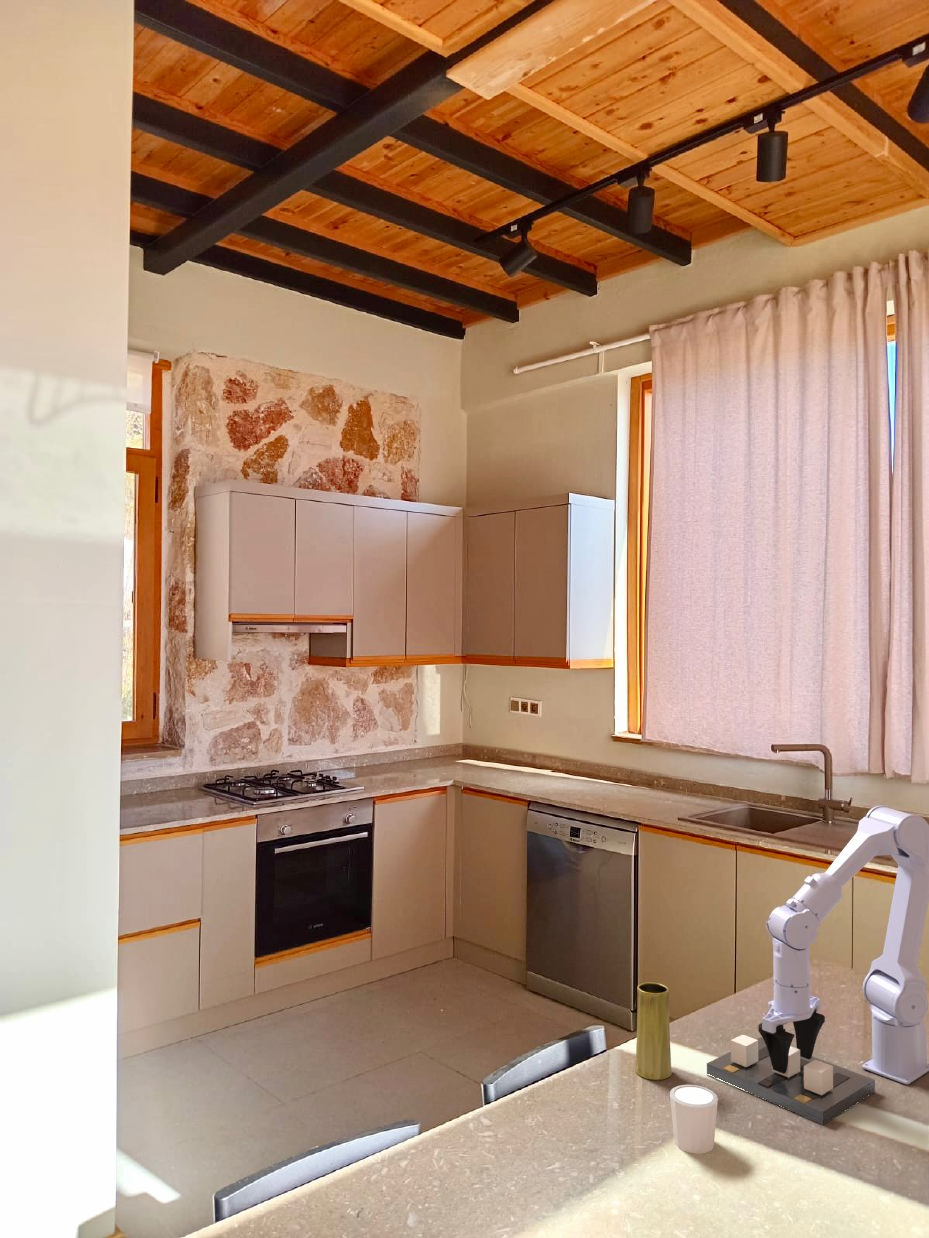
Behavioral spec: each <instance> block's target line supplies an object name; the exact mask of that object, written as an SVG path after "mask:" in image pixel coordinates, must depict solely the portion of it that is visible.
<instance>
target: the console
mask: <svg viewBox="0 0 929 1238" xmlns="http://www.w3.org/2000/svg"><path fill="white" fill-rule="evenodd" d="M755 1039H756V1040H758V1062H756V1063H754V1064H752V1065H750V1066H748V1067H744V1066H742V1065H739V1064H737V1063H734V1062H732V1061H731V1051H729V1052H728V1053H725V1054H723V1055H721V1056H719V1057H717V1058H715V1059H713V1060H710V1061H709V1062H706V1075H707V1074H710V1075H712V1076H714V1077H715V1078H719V1079H721V1080H723V1081H725V1082H728V1083H730V1084H732V1085H735V1086H737V1087H739V1088H742V1089H744V1090H745V1091H748V1092H750V1093H752V1094H754V1095H756V1096H759V1097H760V1098H759V1099H761V1098H764V1099H766V1100H767V1101H766V1102H768V1101H769V1102H768V1103H770V1102H772V1103H774V1104H773V1105H775V1104H777V1105H780V1106H782V1107H784V1108H785V1109H784V1108H783V1109H784V1110H786V1109H789V1110H790V1111H789V1110H788V1111H789V1112H791V1111H792V1113H793V1112H795V1113H794V1114H796V1113H797V1114H796V1115H798V1116H800V1115H802V1116H801V1117H803V1116H804V1117H803V1118H805V1119H807V1120H809V1121H812V1122H815V1123H816V1124H818V1125H821V1126H825V1124H827V1123H829V1122H830V1121H832V1120H834V1119H835V1118H837V1117H839V1115H841V1114H843V1113H845V1112H846V1111H848V1110H849V1109H851V1108H852V1107H854V1106H855V1104H856V1103H857V1102H859V1103H860V1102H862V1101H863V1100H864V1099H863V1098H865V1099H866V1097H867V1096H868V1095H870V1096H871V1095H872V1093H873V1092H874V1093H876V1079H874V1078H872V1077H869V1076H866V1075H863V1074H862V1073H858V1072H855V1071H853V1070H850V1069H848V1068H844V1067H841V1066H840V1065H837V1064H834V1063H831V1062H828V1061H825V1060H824V1059H822V1058H821V1059H820V1058H817V1057H815V1056H814V1055H812V1058H811V1059H810V1060H809V1059H806V1058H804V1057H801V1056H800V1072H798V1073H796V1074H794V1075H793V1076H791V1077H789V1078H788V1077H786V1076H783V1075H781V1074H778V1073H776V1072H773V1071H772V1063H771V1059H770V1056H769V1052H768V1049H767V1046H766V1044H765V1041H764V1039H763V1038H762V1036H761V1037H758V1038H755ZM814 1060H818V1061H821V1062H823V1063H826V1064H829V1065H831V1066H833V1089H831V1090H830V1091H828V1092H826V1093H825V1094H823V1095H819V1094H817V1093H814V1092H812V1091H810V1090H807V1089H805V1088H804V1066H805V1065H807V1064H808V1063H810V1062H812V1061H814ZM745 1091H744V1092H745ZM874 1093H873V1094H874ZM754 1095H753V1096H754ZM756 1096H755V1097H756ZM868 1097H869V1096H868ZM868 1097H867V1098H868ZM862 1099H863V1100H862ZM861 1100H862V1101H861ZM772 1103H771V1104H772ZM857 1104H858V1103H857ZM857 1104H856V1105H857ZM777 1105H776V1106H777ZM853 1105H854V1106H853ZM851 1106H852V1107H851ZM782 1107H781V1108H782ZM850 1107H851V1108H850ZM847 1109H848V1110H847ZM845 1110H846V1111H845ZM844 1111H845V1112H844ZM842 1112H843V1113H842Z"/></svg>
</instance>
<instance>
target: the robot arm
mask: <svg viewBox="0 0 929 1238" xmlns="http://www.w3.org/2000/svg"><path fill="white" fill-rule="evenodd" d="M877 856H891V858H892V859H893V860H894V861H895V862H896V864H897V872H896V878H895V883H894V888H893V894H892V900H891V906H890V911H889V917H888V923H887V927H886V934H885V939H884V945H883V951H882V954H881V955H880V956H879V957H877V958H876V959H874V960H872V961H871V964H870V965H871V966H870V969H869V971H868V973H867V975H865V978H864V980H863V983H862V989H861V990H862V994H863V997H864V999H865V1001H867V1002H868V1003H869V1010H870V1011H871V1040H872V1041H871V1053H872V1054H871V1059H870V1060H867V1062H865V1063H862V1065H861V1068H862V1069H863V1070H866V1071H869V1072H872V1073H874V1074H877V1075H880V1076H883V1077H884V1078H888V1079H889V1080H893V1081H896V1082H899V1083H901V1084H904V1085H910V1084H911V1083H913V1082H915V1081H916V1080H917V1079H919V1078H920V1077H922V1076H923V1075H925V1074H926V1073H929V1063H928V1031H927V1030H928V1029H927V1025H926V1024H925V1022H924V1018H925V1017H926V1016H927V1014H928V1009H929V1001H928V996H927V986H928V982H927V980H926V978H925V976H924V975H923V973H922V971H921V969H920V968H919V965H918V964H919V959H920V954H921V948H922V947H921V946H922V942H923V935H924V929H925V925H926V918H927V913H928V907H929V822H928V821H926V820H925V818H923V817H922V816H921V815H917V814H913V813H912V814H911V813H907V812H904V811H901V810H897V809H893V808H890V807H888V806H885V805H876V806H874V807H871V809H870V810H868V812H867V814H866V815H865V816H863V818H861V819H860V820H859V821H858V826H857V830H856V833H855V834H854V835H853V836H852V837H851V839H850V840H849V841H848V843H847V844H846V845H845V847H844V848H843V849H842V850H841V852H840V853H839V854H838V856H837V857H836V858H835V859H834V861H833V862H832V863H831V864H830V866H829V867H828V868H827V870H826V871H825V872H821V873H818V872H817V873H814V874H812V875H811V876H810V875H808V876H807V877H806V878H805V879H804V882H803V883H804V884H803V885H802V886H801V887H800V889H799V890H798V891H796V893H795V894H794V895H793V896H792V897H791V898H789V899H788V900H787V901H786V902H785V905H781V906H777V907H775V908H774V909H773V910H772V911H771V913H770V914H769V917H768V921H765V928H766V931H767V932H768V934H769V935H770V936H771V939H772V946H773V949H772V951H773V952H772V953H773V954H772V955H773V957H772V958H773V960H772V961H773V962H772V964H773V965H772V966H773V967H772V968H773V1000H770V1001H768V1002H767V1006H768V1008H770V1009H769V1010H768V1012H767V1014H766V1015H765V1016H763V1017H762V1018H761V1023H759V1024H758V1025H757V1026H758V1027H757V1028H758V1033H759V1034H760V1036H761V1037H762V1038H763V1039H764V1041H765V1044H766V1046H767V1049H768V1052H769V1056H770V1059H771V1063H772V1067H773V1070H776V1071H778V1072H781V1073H783V1074H784V1073H786V1071H787V1066H788V1056H789V1049H790V1046H791V1045H792V1042H793V1039H795V1045H796V1049H799V1050H800V1056H801V1057H804V1058H806V1059H809V1060H810V1059H811V1058H812V1056H813V1053H814V1049H815V1046H816V1042H817V1037H818V1035H819V1033H820V1030H821V1029H822V1026H823V1025H824V1024H825V1022H826V1016H825V1015H824V1014H822V1013H818V1012H819V1011H821V999H820V998H818V997H816V996H812V995H811V981H810V980H811V977H810V976H811V974H810V973H811V972H810V970H811V967H810V964H811V963H810V960H811V959H810V958H811V957H810V956H811V955H810V953H811V952H810V949H811V948H810V947H811V945H812V944H814V943H815V942H816V940H817V938H818V933H819V932H818V931H819V928H820V927H821V923H822V922H823V921H824V920H825V918H826V917H827V916H828V915H829V914H830V913H831V912H832V911H833V909H834V908H835V907H836V906H837V905H838V904H839V903H840V902H841V900H842V899H843V887H844V886H845V885H846V884H847V883H848V882H849V881H850V880H852V879H853V877H854V876H856V875H857V874H858V873H859V872H860V870H862V869H863V868H864V867H866V865H867V864H868V863H869V862H870V861H871V860H872V859H874V858H875V857H877ZM789 1023H793V1027H794V1033H795V1034H794V1033H792V1032H788V1031H787V1030H786V1028H784V1025H787V1024H789Z"/></svg>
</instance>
